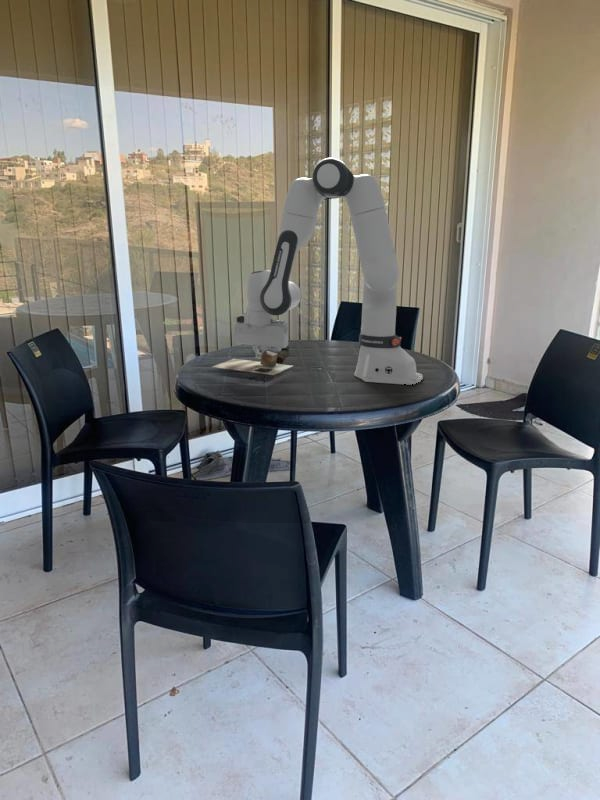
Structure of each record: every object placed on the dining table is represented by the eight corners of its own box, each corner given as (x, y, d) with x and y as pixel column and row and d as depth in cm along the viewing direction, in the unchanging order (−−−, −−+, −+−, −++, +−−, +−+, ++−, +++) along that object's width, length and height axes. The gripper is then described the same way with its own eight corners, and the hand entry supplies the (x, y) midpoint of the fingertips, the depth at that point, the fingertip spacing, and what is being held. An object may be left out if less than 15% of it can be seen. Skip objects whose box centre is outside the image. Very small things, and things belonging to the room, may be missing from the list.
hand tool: (282, 367, 204) (282, 354, 203) (271, 367, 205) (271, 354, 203) (294, 357, 222) (294, 345, 220) (284, 356, 223) (284, 344, 221)
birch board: (293, 369, 200) (293, 365, 199) (273, 379, 187) (273, 374, 186) (233, 362, 209) (233, 358, 209) (211, 371, 196) (211, 366, 196)
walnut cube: (275, 364, 200) (277, 353, 199) (270, 367, 197) (272, 355, 195) (265, 361, 202) (267, 350, 200) (260, 363, 198) (262, 352, 197)
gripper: (291, 319, 195) (291, 359, 199) (239, 315, 203) (239, 353, 207) (283, 322, 189) (283, 363, 193) (230, 317, 197) (230, 356, 201)
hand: (260, 358), depth 200 cm, fingers closed
